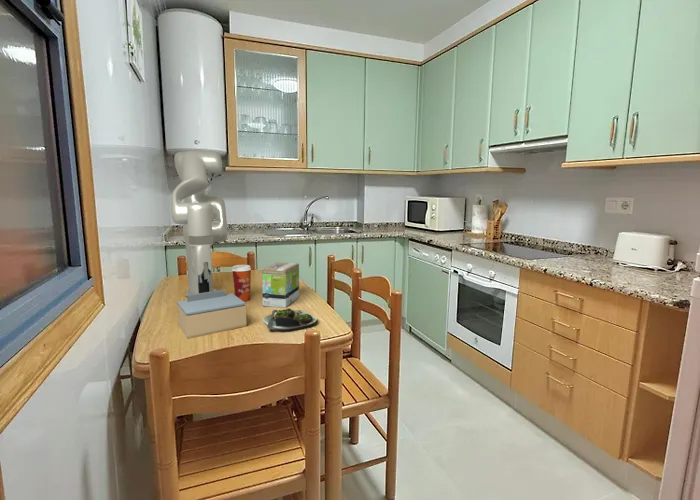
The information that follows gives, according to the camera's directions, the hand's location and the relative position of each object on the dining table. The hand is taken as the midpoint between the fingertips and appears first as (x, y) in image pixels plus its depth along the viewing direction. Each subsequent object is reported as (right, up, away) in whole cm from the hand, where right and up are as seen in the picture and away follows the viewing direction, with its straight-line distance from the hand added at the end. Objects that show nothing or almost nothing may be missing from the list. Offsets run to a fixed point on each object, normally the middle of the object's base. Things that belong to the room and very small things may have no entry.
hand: (204, 293), depth 128 cm
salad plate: (+30, -10, -3) cm, 32 cm away
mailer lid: (+5, -3, -7) cm, 9 cm away
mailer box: (+5, -10, -6) cm, 12 cm away
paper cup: (+7, -6, +23) cm, 25 cm away
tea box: (+23, -6, +21) cm, 32 cm away
